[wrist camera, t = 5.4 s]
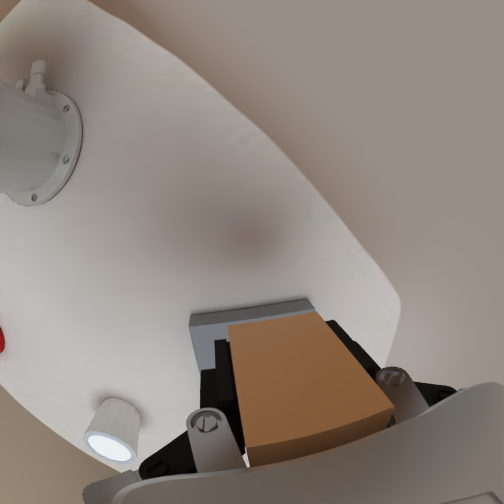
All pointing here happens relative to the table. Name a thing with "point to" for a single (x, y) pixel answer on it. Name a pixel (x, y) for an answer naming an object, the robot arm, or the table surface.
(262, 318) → the socket plate
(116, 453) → the white short cylinder
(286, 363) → the block
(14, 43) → the table surface
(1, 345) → the soda can
